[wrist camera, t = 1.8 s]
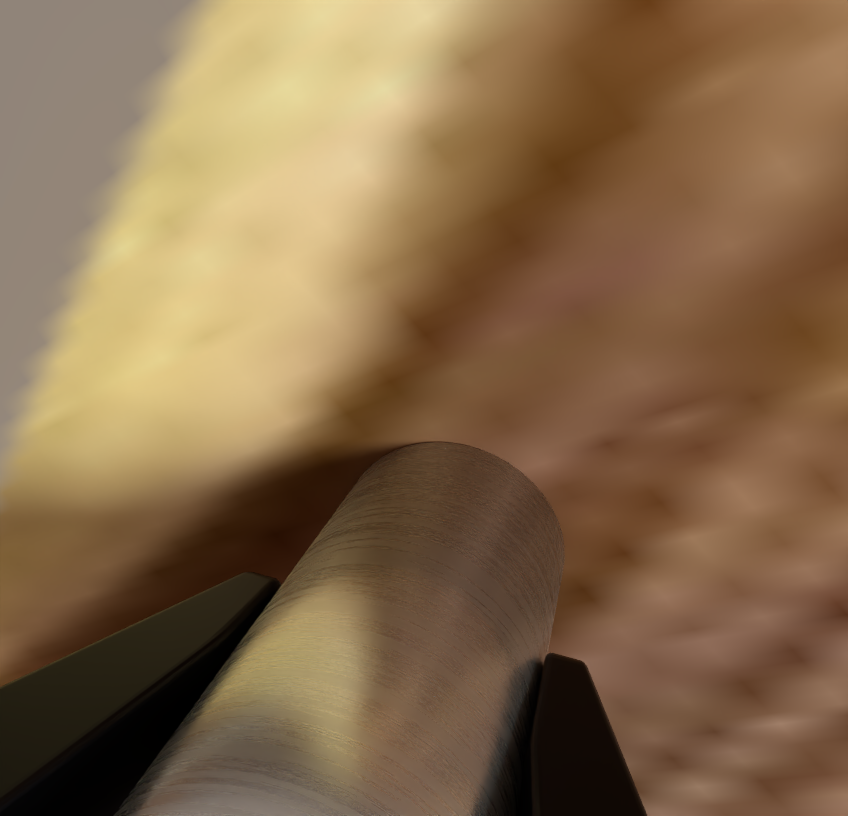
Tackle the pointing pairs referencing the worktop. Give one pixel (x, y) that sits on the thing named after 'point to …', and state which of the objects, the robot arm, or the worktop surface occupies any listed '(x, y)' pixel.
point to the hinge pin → (384, 657)
